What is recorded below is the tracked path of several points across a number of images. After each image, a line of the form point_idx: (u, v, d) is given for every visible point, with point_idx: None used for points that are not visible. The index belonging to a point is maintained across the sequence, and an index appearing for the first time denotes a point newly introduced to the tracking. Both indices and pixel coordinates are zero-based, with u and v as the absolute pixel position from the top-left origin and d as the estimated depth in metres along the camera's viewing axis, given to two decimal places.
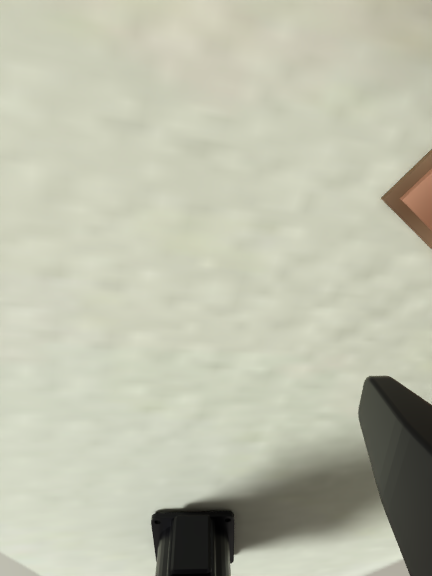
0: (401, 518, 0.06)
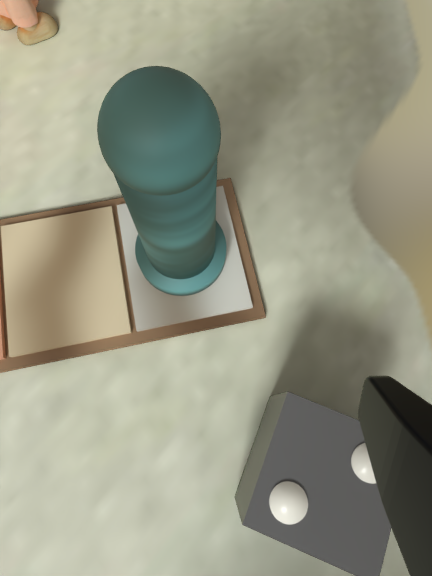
0: (401, 518, 0.06)
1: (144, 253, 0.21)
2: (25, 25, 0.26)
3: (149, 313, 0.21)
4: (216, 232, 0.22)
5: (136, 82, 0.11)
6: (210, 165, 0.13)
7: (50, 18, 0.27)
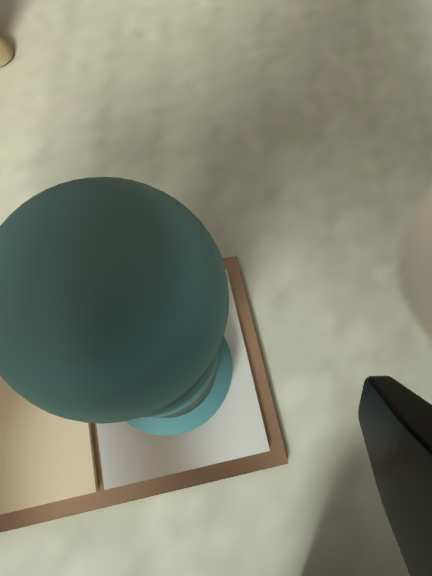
0: (401, 518, 0.06)
1: None
2: None
3: (123, 462, 0.15)
4: None
5: (41, 233, 0.05)
6: (209, 365, 0.06)
7: (2, 41, 0.21)
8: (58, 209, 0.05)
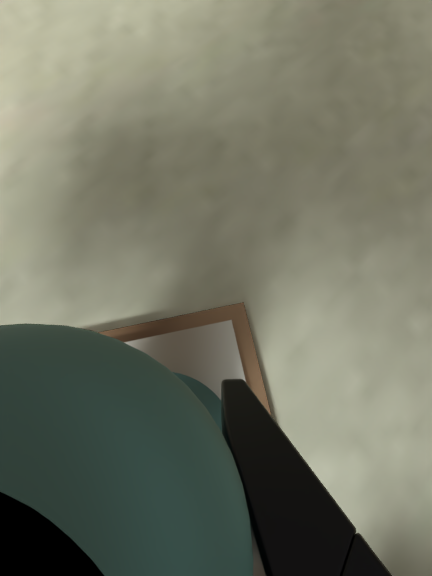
0: None
1: None
2: None
3: None
4: None
5: None
6: None
7: None
8: None
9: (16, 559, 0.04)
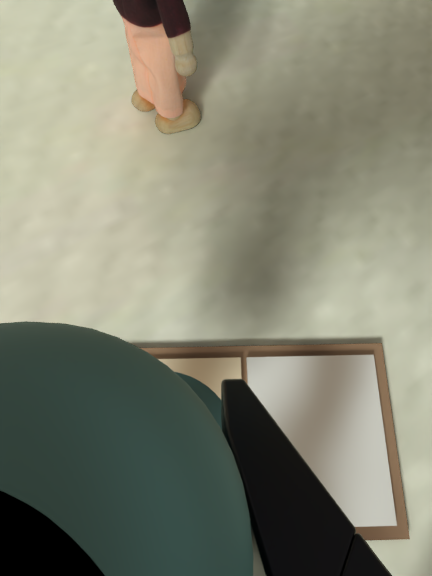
0: None
1: None
2: (168, 115, 0.23)
3: None
4: None
5: None
6: None
7: (195, 108, 0.24)
8: None
9: (17, 557, 0.04)
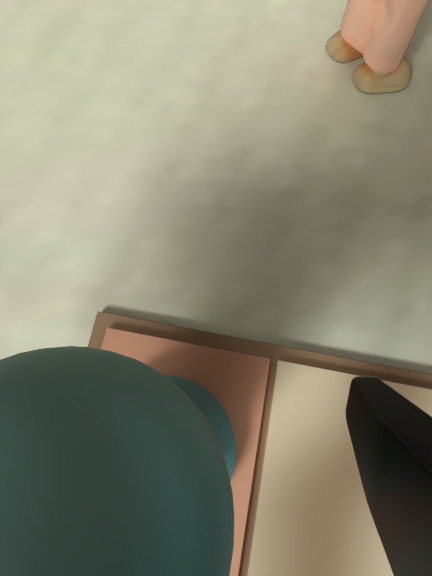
0: (385, 518, 0.06)
1: None
2: (379, 68, 0.18)
3: None
4: (219, 423, 0.13)
5: None
6: None
7: (409, 67, 0.19)
8: None
9: None
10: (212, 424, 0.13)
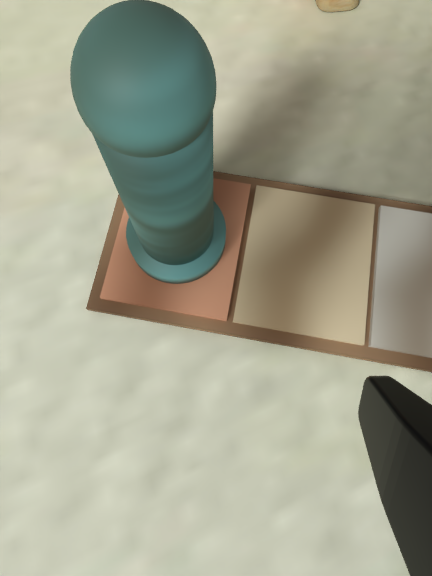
0: (401, 518, 0.06)
1: (136, 237, 0.19)
2: None
3: (389, 332, 0.19)
4: (214, 214, 0.20)
5: (113, 15, 0.09)
6: (204, 120, 0.11)
7: None
8: (121, 6, 0.09)
9: None
10: None
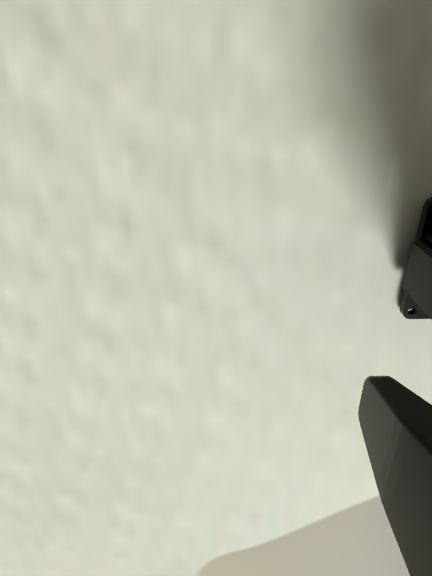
0: (401, 518, 0.06)
1: None
2: None
3: None
4: None
5: None
6: None
7: None
8: None
9: None
10: None
